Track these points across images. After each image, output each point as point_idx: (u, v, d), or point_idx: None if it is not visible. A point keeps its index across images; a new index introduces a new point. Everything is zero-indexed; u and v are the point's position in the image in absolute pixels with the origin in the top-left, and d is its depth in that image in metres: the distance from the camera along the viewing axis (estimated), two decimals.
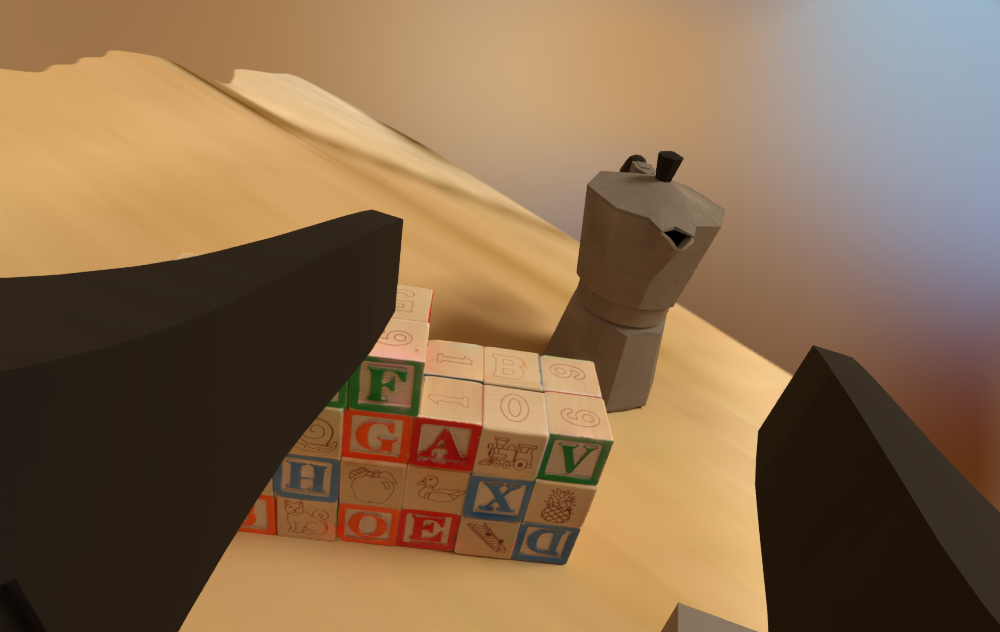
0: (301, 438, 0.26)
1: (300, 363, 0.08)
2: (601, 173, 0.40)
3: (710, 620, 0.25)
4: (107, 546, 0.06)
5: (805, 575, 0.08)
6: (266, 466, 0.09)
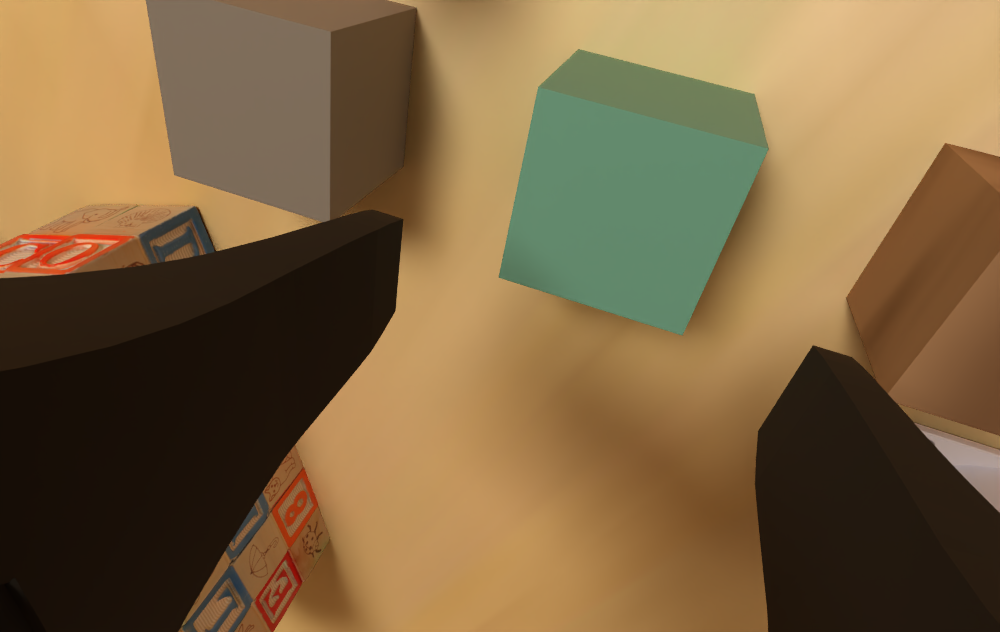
0: None
1: (300, 363, 0.08)
2: None
3: (175, 131, 0.16)
4: (107, 546, 0.06)
5: (805, 575, 0.08)
6: (266, 466, 0.09)
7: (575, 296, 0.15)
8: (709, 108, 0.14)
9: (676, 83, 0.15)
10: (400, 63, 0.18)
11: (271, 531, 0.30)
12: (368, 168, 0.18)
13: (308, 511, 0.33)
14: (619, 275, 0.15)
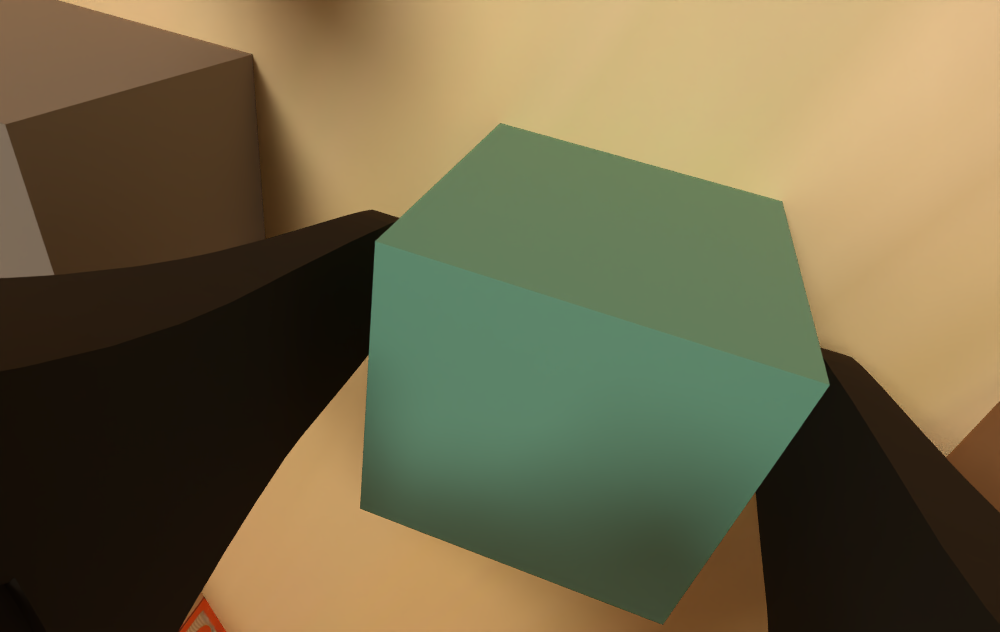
0: None
1: (300, 362, 0.08)
2: None
3: None
4: (107, 546, 0.06)
5: (805, 576, 0.08)
6: (266, 466, 0.09)
7: (483, 549, 0.09)
8: (708, 256, 0.08)
9: (653, 191, 0.09)
10: (230, 140, 0.11)
11: None
12: None
13: None
14: (553, 534, 0.08)
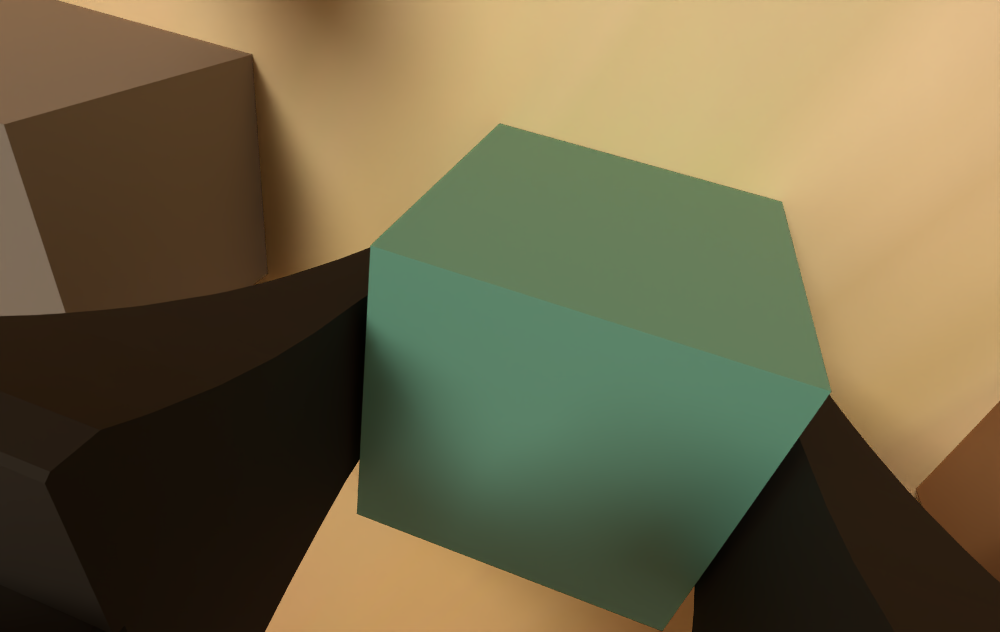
0: None
1: None
2: None
3: None
4: (200, 585, 0.06)
5: (725, 547, 0.08)
6: (330, 491, 0.08)
7: (481, 555, 0.09)
8: (708, 260, 0.08)
9: (652, 193, 0.09)
10: (230, 140, 0.11)
11: None
12: None
13: None
14: (552, 540, 0.08)
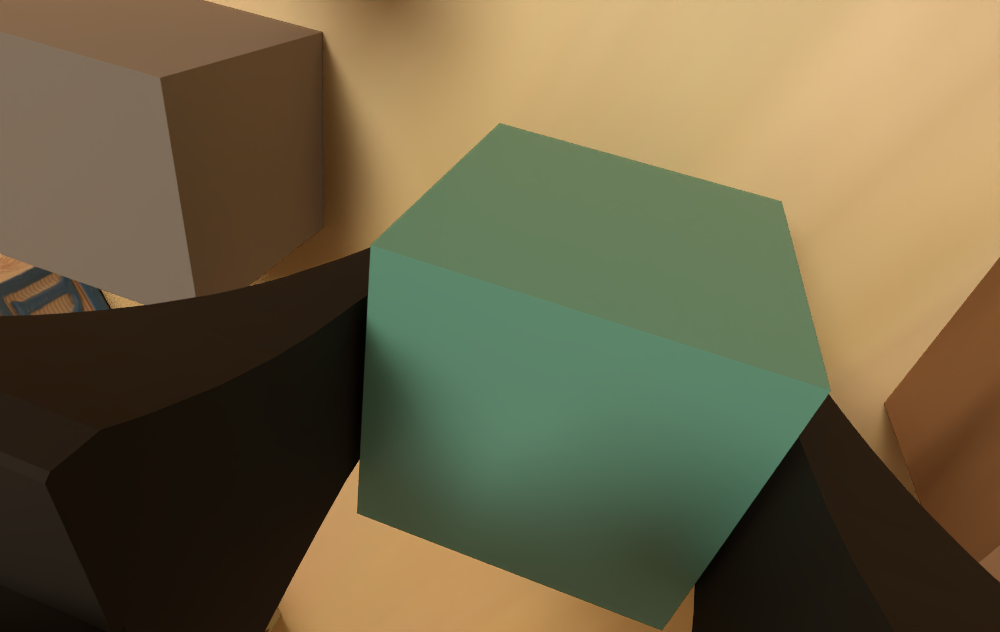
0: None
1: None
2: None
3: None
4: (200, 585, 0.06)
5: (725, 547, 0.08)
6: (331, 491, 0.08)
7: (481, 554, 0.09)
8: (708, 260, 0.08)
9: (652, 193, 0.09)
10: (303, 104, 0.13)
11: None
12: (262, 241, 0.14)
13: None
14: (552, 539, 0.08)
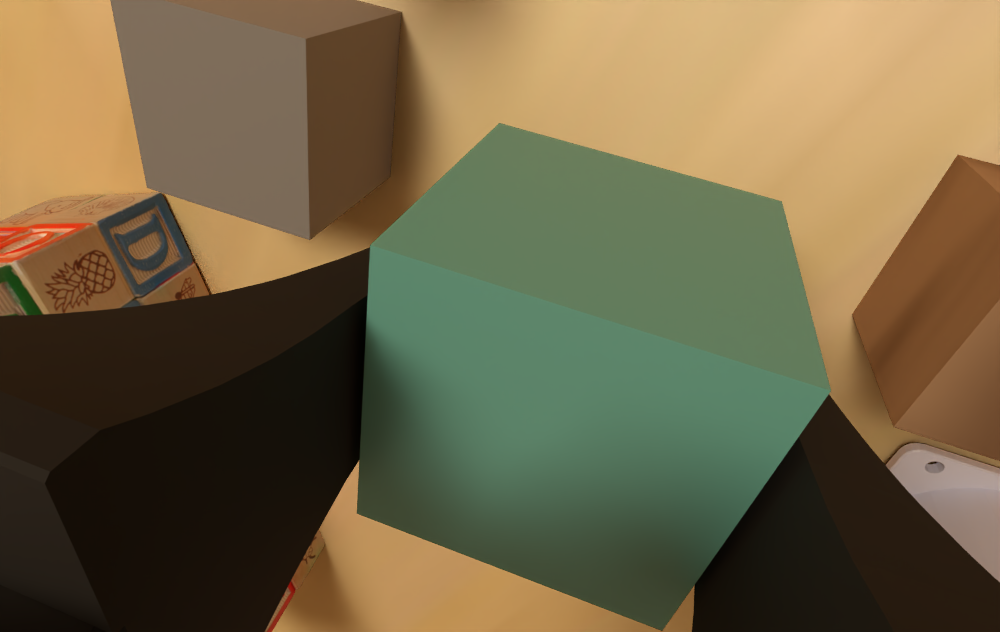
0: None
1: None
2: None
3: (147, 142, 0.15)
4: (200, 585, 0.06)
5: (725, 546, 0.08)
6: (330, 491, 0.08)
7: (481, 554, 0.09)
8: (708, 260, 0.08)
9: (652, 193, 0.09)
10: (385, 70, 0.17)
11: None
12: (351, 179, 0.17)
13: None
14: (551, 539, 0.08)
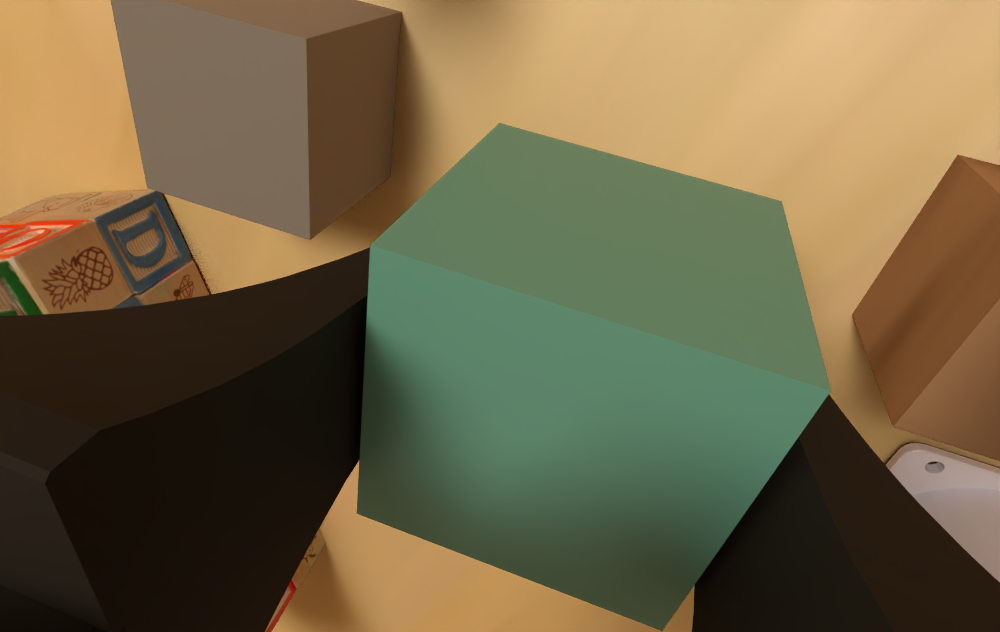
0: None
1: None
2: None
3: (147, 142, 0.15)
4: (200, 585, 0.06)
5: (725, 546, 0.08)
6: (330, 491, 0.08)
7: (481, 554, 0.09)
8: (708, 260, 0.08)
9: (652, 193, 0.09)
10: (385, 70, 0.17)
11: None
12: (351, 179, 0.17)
13: None
14: (551, 539, 0.08)
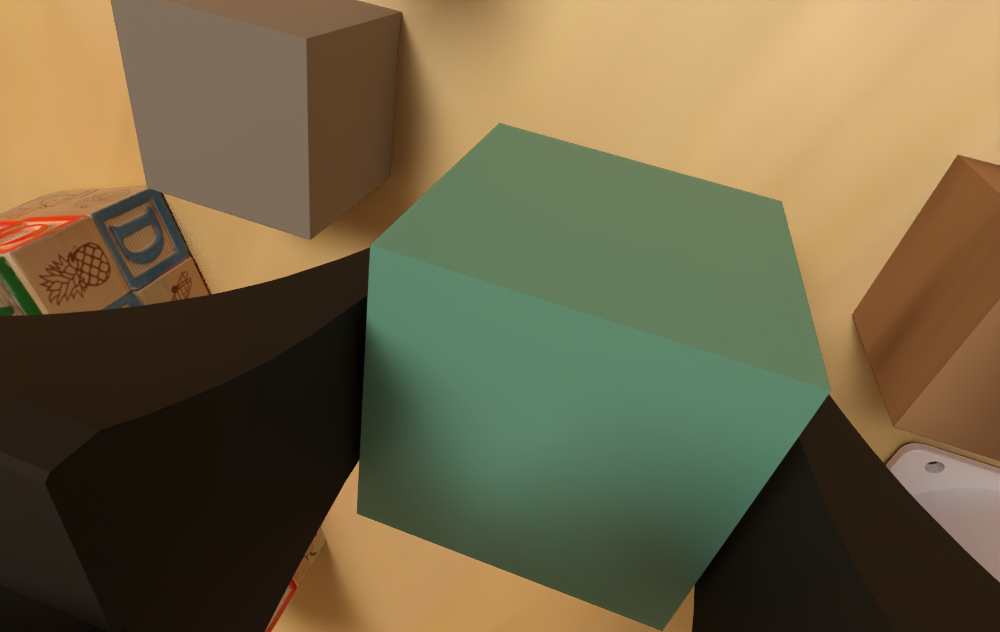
0: None
1: None
2: None
3: (147, 142, 0.15)
4: (200, 585, 0.06)
5: (725, 546, 0.08)
6: (330, 491, 0.08)
7: (481, 554, 0.09)
8: (708, 260, 0.08)
9: (652, 193, 0.09)
10: (385, 70, 0.17)
11: None
12: (351, 179, 0.17)
13: None
14: (551, 539, 0.08)
